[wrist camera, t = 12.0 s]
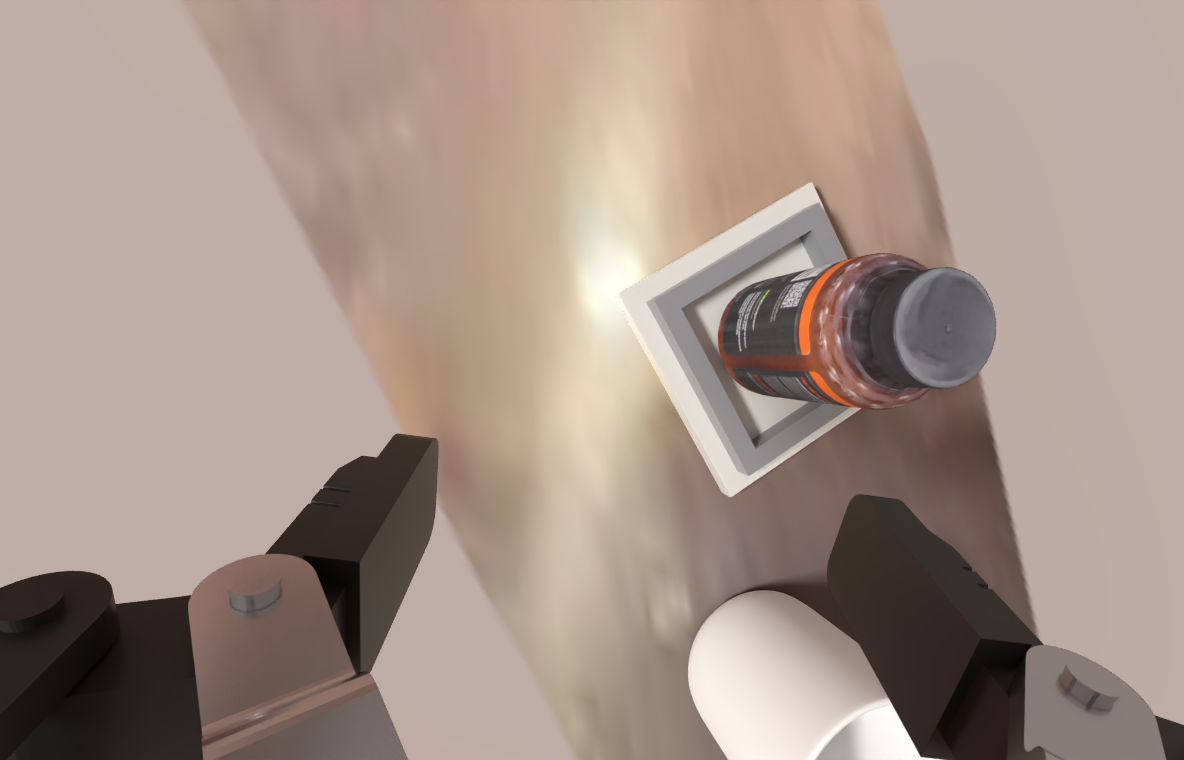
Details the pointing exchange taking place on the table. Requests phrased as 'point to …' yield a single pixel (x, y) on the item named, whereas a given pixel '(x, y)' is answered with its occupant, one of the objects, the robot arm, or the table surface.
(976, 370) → the supplement bottle
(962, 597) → the robot arm
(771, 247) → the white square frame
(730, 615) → the mug
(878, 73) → the table surface
